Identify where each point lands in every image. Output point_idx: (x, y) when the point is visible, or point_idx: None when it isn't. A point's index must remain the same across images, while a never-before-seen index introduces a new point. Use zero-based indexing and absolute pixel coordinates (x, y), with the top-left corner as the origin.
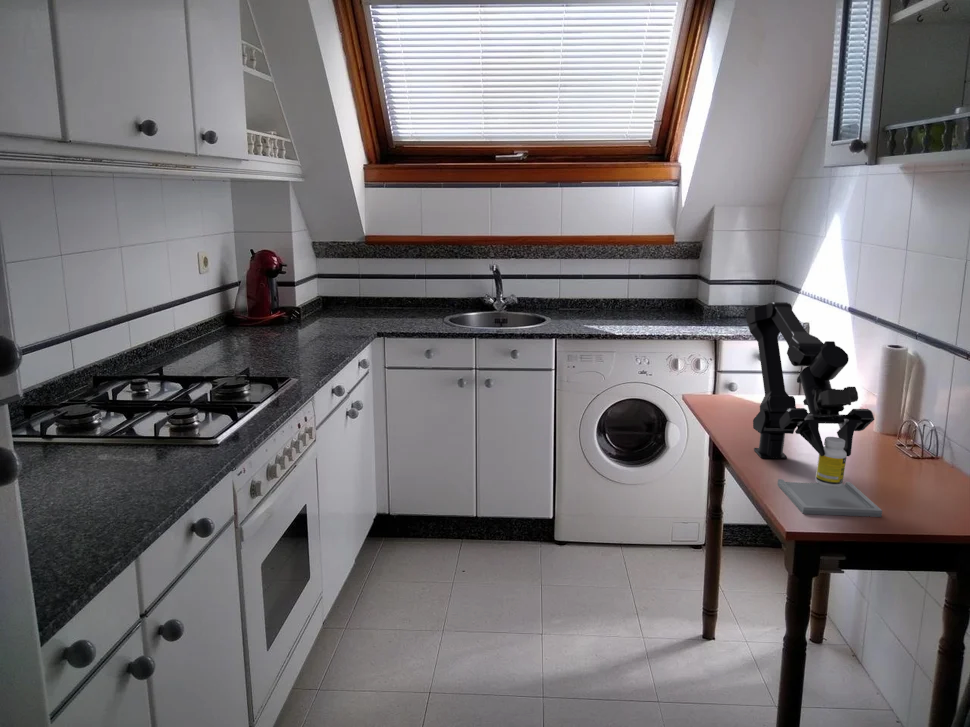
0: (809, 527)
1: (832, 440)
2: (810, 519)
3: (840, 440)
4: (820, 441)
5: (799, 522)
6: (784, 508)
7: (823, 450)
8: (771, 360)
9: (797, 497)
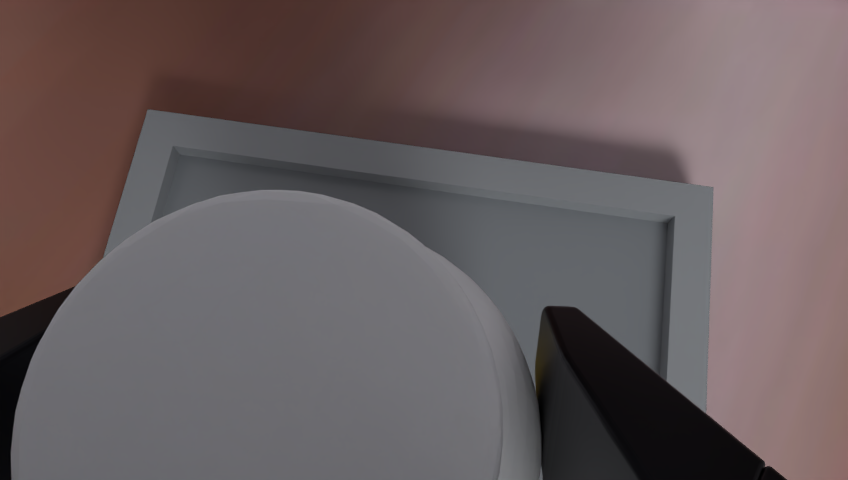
0: (736, 15)
1: (375, 343)
2: (678, 119)
3: (158, 341)
4: (647, 423)
5: (772, 81)
6: (795, 302)
7: (572, 326)
8: None
9: (683, 377)
